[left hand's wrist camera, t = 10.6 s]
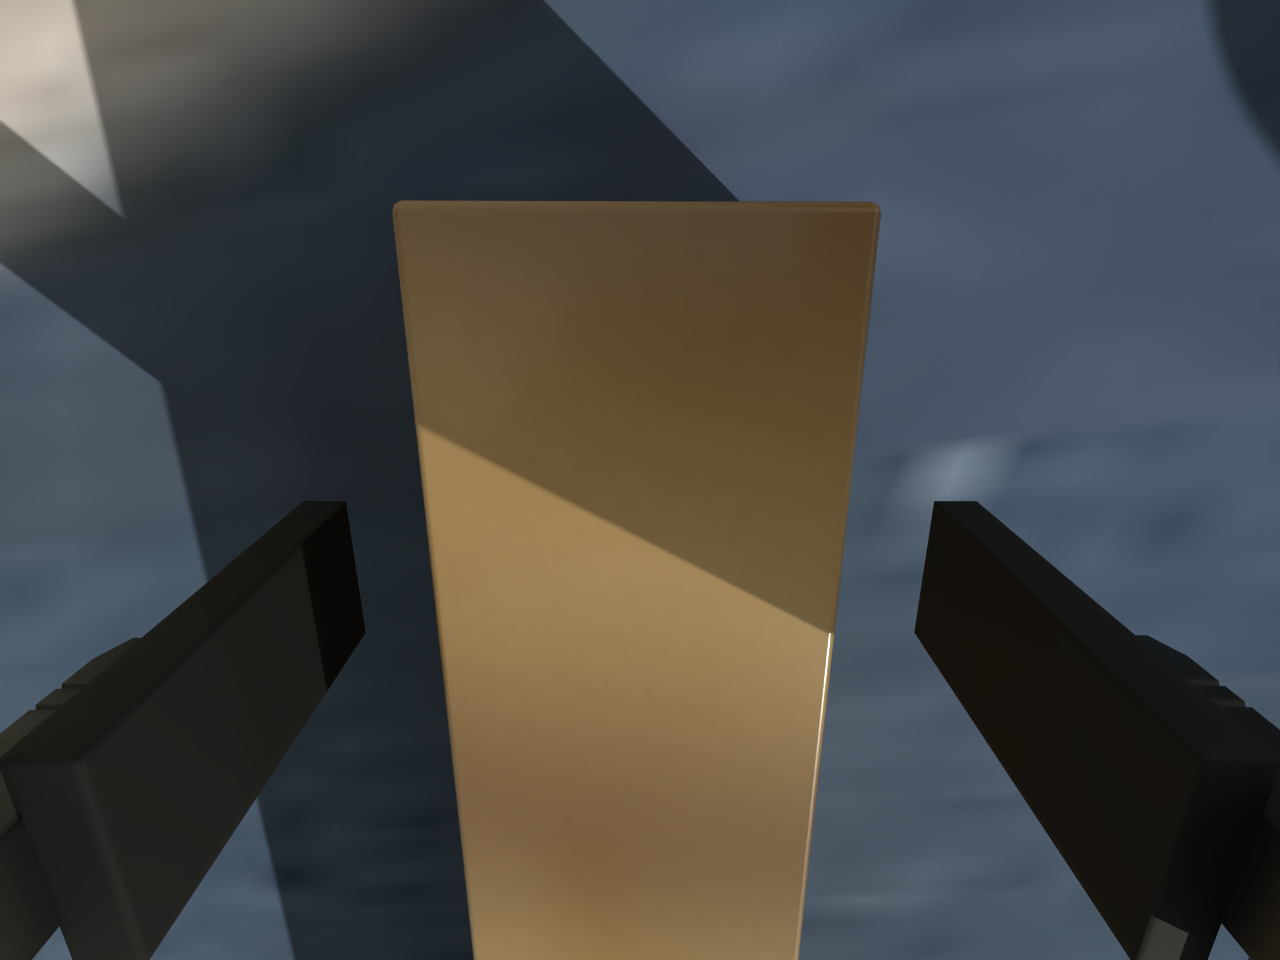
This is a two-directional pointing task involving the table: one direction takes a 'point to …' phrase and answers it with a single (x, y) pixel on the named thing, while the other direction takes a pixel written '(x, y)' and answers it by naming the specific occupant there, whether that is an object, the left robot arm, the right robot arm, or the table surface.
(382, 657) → the table surface
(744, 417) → the beam
